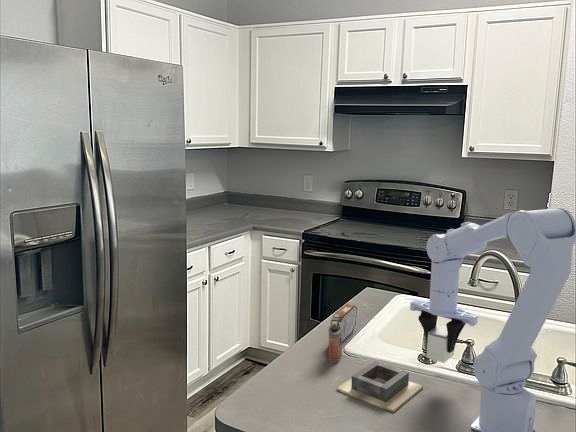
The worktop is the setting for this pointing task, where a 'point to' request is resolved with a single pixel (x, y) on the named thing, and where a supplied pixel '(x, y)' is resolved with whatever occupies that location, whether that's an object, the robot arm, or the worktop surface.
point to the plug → (438, 344)
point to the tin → (347, 319)
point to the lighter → (335, 340)
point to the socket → (381, 386)
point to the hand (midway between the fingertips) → (440, 348)
